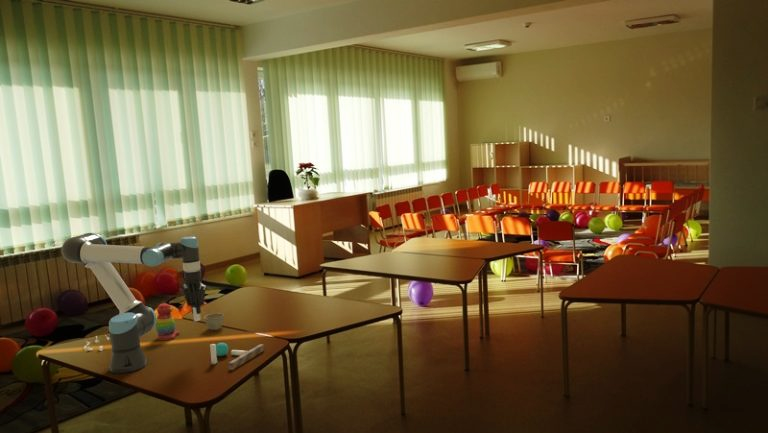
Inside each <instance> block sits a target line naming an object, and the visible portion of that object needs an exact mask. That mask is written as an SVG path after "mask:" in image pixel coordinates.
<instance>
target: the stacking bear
mask: <svg viewBox="0 0 768 433" xmlns="http://www.w3.org/2000/svg"><path fill="white" fill-rule="evenodd" d="M156 311H157V314H158V315H157V316H156V323H155V329H156V332H157V340H161V341H172V340H174V339H176V337H177V336H179V335H180V334H181V333H180V331H178V330H176V321H175V319H174V316H173V314H172V312H173V306H171V305H170V304H169V303H166V302H163V303H161V304H159V305H158V306H157V308H156Z"/></svg>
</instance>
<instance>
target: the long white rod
mask: <svg viewBox="0 0 768 433" xmlns="http://www.w3.org/2000/svg"><path fill="white" fill-rule="evenodd" d="M247 351H248V352H246V353H244V354H243V355H241V356H238V357H236V358H235V359H233V360H231V361H229V362H228V363H227V364H228V370H230V371H233V370H235V369H237V368H239V367H240V366H242V365H243V364H245V363H246V362H249V360H252V359H253V358H255V357H257V356H258V355H259V354H261V353H263V352H265V345H264V344H261V343H260V344H258V345H256V346H255V347H253V348H251V349H250V350H247Z"/></svg>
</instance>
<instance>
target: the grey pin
mask: <svg viewBox="0 0 768 433" xmlns="http://www.w3.org/2000/svg"><path fill="white" fill-rule="evenodd" d="M216 345H217V344H216V343H210V344H209V348H210V349H209V350H210V360H211V365H217V364H218V358H217V357H218V355H217V354H216ZM216 363H217V364H216Z"/></svg>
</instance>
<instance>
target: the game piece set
mask: <svg viewBox="0 0 768 433" xmlns="http://www.w3.org/2000/svg"><path fill="white" fill-rule="evenodd" d="M104 336H105V337H106V340H107V341H109V340H110V336H107V335H106V334H105V335H104ZM95 338H96V339H95V340H94V342H95V343H100V340H99V339H98V336H97V335H95ZM84 342H85V343H86V345H84V346H83V348H82V349H83V350H84V349H85V350H88V351H89V352H91V351H93V347H90V345H91V342H90V341H87V340H85V341H84ZM103 347H104V346H103V345H100V346H99V347H98V349H99V352H101V351H103Z"/></svg>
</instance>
